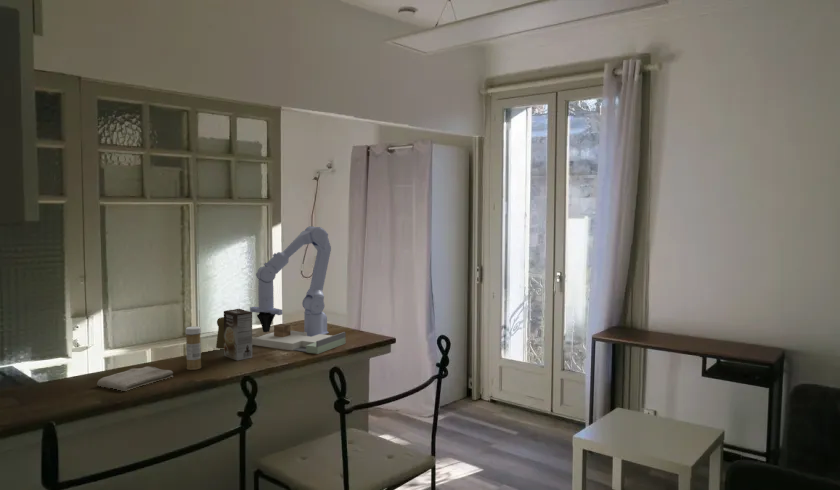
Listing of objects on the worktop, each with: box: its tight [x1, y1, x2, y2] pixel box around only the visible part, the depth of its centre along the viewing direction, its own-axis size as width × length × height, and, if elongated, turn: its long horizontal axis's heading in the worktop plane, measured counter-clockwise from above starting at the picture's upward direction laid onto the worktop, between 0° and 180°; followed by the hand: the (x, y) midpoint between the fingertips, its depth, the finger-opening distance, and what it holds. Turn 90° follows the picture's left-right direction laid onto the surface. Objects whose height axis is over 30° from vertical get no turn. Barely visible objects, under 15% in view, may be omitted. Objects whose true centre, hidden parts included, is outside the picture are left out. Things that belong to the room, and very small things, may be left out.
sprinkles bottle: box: [185, 325, 202, 371], centre depth 192 cm, size 5×5×13 cm
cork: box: [215, 316, 224, 350], centre depth 222 cm, size 6×6×11 cm
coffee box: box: [223, 308, 253, 361], centre depth 207 cm, size 9×6×16 cm
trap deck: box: [252, 330, 347, 355], centre depth 227 cm, size 18×30×4 cm, turn 64°
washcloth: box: [96, 366, 174, 392], centre depth 178 cm, size 12×18×3 cm, turn 154°
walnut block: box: [273, 323, 291, 337], centre depth 230 cm, size 4×4×4 cm
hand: (266, 331), depth 234 cm, fingers closed
